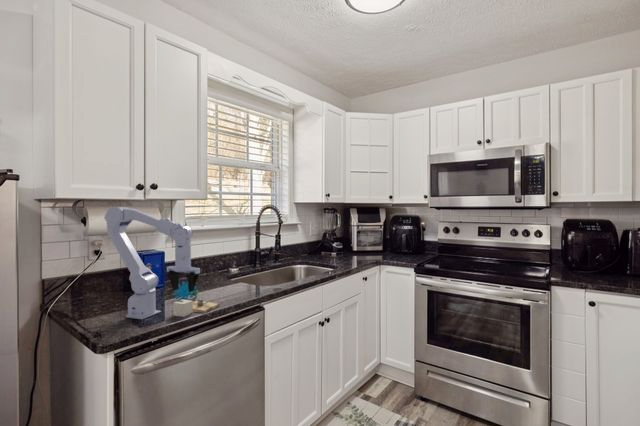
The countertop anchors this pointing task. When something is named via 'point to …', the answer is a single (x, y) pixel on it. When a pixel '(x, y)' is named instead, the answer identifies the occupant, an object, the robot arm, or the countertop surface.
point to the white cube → (183, 307)
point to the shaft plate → (204, 306)
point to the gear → (185, 292)
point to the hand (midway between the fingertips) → (183, 290)
